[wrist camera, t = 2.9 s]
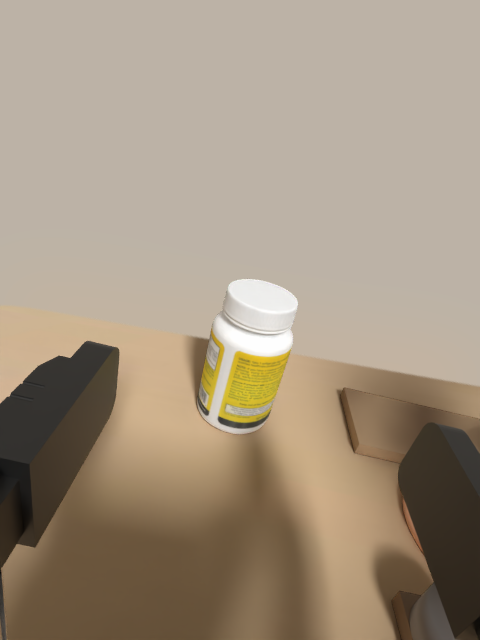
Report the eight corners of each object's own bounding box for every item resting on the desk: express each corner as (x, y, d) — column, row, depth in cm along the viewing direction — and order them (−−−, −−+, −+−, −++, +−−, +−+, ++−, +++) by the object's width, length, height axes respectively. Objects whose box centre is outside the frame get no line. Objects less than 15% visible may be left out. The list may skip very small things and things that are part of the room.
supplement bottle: (280, 410, 24) (320, 301, 20) (240, 450, 21) (280, 326, 17) (224, 375, 26) (251, 269, 23) (180, 405, 23) (202, 285, 19)
